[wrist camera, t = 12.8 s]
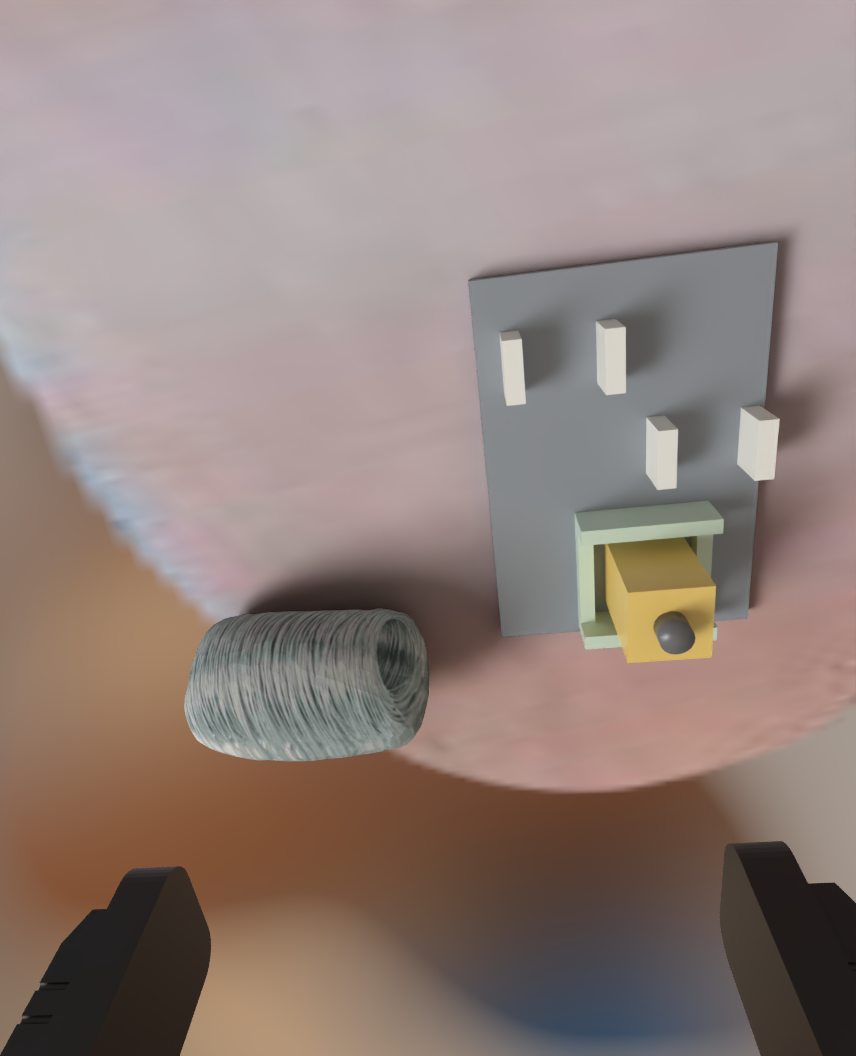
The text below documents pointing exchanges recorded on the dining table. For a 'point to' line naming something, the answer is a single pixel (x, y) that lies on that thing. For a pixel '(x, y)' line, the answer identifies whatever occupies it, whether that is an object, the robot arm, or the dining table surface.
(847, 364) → the dining table surface
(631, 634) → the yellow drawer
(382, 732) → the spool
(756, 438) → the white blocks
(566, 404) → the board
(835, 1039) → the robot arm
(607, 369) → the white blocks
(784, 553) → the dining table surface
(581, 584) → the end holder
